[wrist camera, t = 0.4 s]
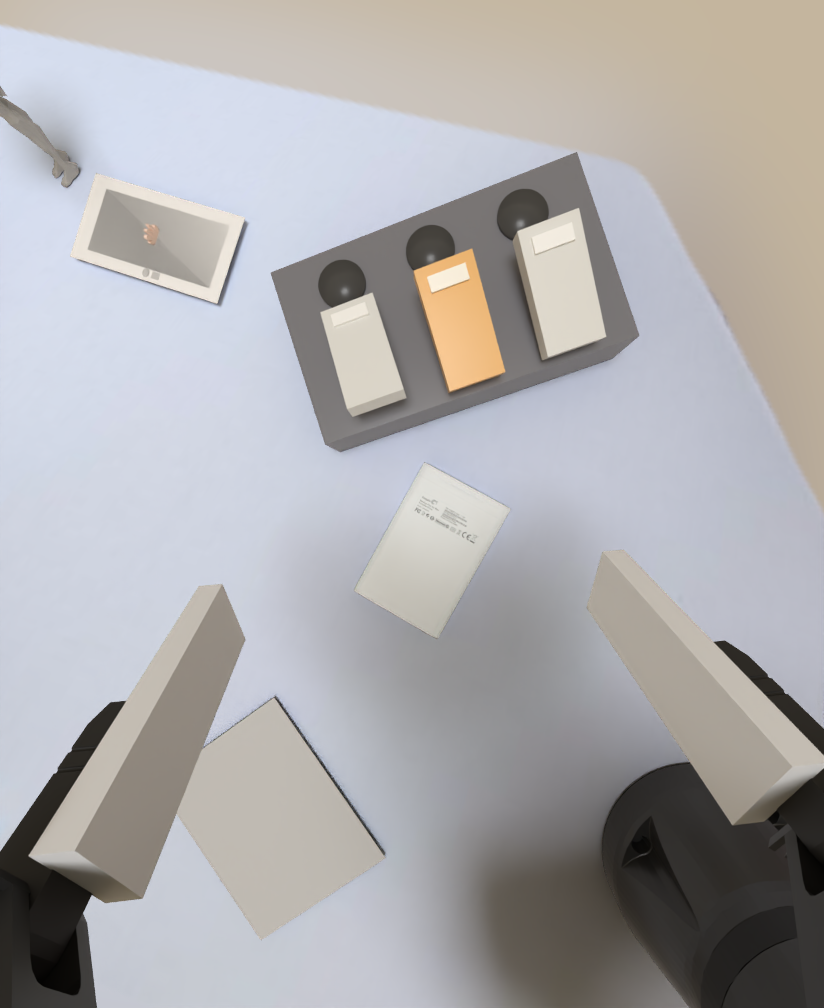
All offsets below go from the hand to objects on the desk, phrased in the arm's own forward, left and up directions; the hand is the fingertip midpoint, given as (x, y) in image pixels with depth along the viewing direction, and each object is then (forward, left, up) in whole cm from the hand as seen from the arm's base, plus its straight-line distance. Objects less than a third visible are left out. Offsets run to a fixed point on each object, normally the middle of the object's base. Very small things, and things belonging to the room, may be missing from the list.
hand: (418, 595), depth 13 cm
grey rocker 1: (+14, 0, -13) cm, 19 cm away
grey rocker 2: (+14, -14, -13) cm, 24 cm away
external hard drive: (-1, 0, -19) cm, 19 cm away
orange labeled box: (+14, -7, -13) cm, 20 cm away
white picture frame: (+33, +15, -18) cm, 41 cm away
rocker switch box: (+17, -7, -18) cm, 25 cm away
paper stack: (-17, +27, -18) cm, 37 cm away
